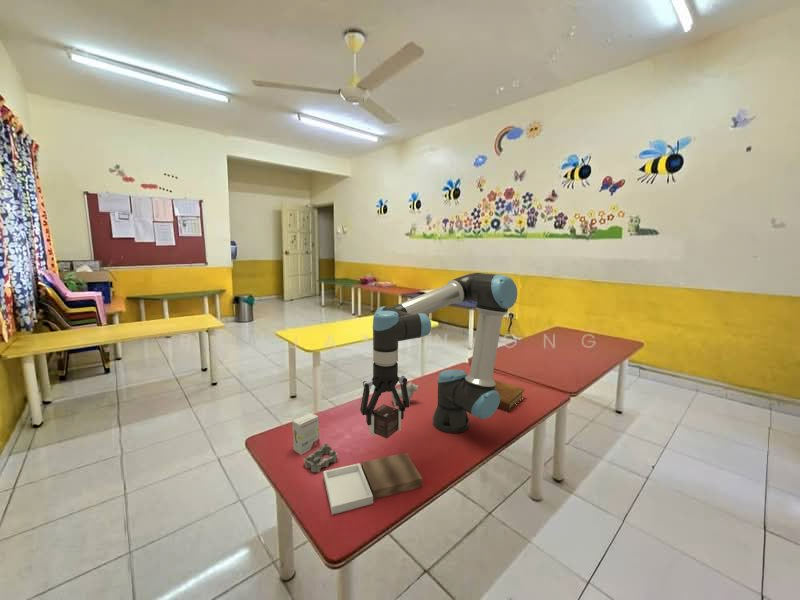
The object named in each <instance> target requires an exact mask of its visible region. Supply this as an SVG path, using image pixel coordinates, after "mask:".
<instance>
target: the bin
mask: <svg viewBox="0 0 800 600" xmlns="http://www.w3.org/2000/svg"><path fill="white" fill-rule="evenodd" d="M323 480H324V485H325V489H326V490H325V491H326V494H327V498H328V503H329V508H330V513H331V515H332V516H334V515H336V514H340V513H344V512H349V511H351V510H354V509H359V508H362V507H366V506H369V505H373V504H374V500H373V495H372V492H371V490H370V487H369V485H368V482H367V480H366V477H365V475H364V473H363V470H362V464H361V463H359V462H358V463H354V464H351V465H346V466H340V467H336V468H332V469H331V468H330V469H328V470H324V471H323Z"/></svg>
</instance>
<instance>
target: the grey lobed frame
mask: <svg viewBox="0 0 800 600" xmlns="http://www.w3.org/2000/svg"><path fill="white" fill-rule="evenodd" d="M328 454H329V457H325V458H323V456H324V455H328ZM338 455H339V453H338V451H336V450H335V449H334V450H333V449H332V447H331V446H330V445H329V444H328V443H324V444H323V445H321V446H320V447H319V449H317V450H315V451H314V452H313V453H310V454H309V455H308V456H307V457H305V458H303V461H304V464H305V465H304V467H305V468H306V469H309V468H310V472H311V473H320V472H321V468H328V467H329V464H330V463H334V464H335V463H336V462H337V459H338V458H337V457H338ZM322 458H323V459H322Z"/></svg>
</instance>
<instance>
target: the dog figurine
mask: <svg viewBox="0 0 800 600" xmlns="http://www.w3.org/2000/svg"><path fill="white" fill-rule="evenodd" d="M412 382H413V381H411V380H410V381H409V382H407V385H406V386H407V392H408V398H409V405H410V406H411V403H410V400H411V398H412V397H413V395H414V392H416V391H417V390H418V389H419V385H418V384H415V383H412ZM396 391H397V393H398V395H399V398H400V399H402V400H403V398H402V392H401V388H400V389H397V388H396ZM390 395H391V397H392V402H393V406H395V407H397V403H396V400H395V398H394V396H393V394H392V392H390Z"/></svg>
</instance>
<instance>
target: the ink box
mask: <svg viewBox="0 0 800 600" xmlns="http://www.w3.org/2000/svg"><path fill="white" fill-rule="evenodd" d="M319 421H320V420H319V416H318V415H316V414H315V413H313V412H310V413H307V414H305V415H303V416H301V417H298V418H295V419H293V420H292V422H291V423H292V446H293V451H294V452H296V453H297V454H298V455H300V456H302V455H304V454H306V453H307V452H309V451H311V450H313V449H315V448H317V447H318V446H320V445H321V441H320V425H319V424H320V422H319Z"/></svg>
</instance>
